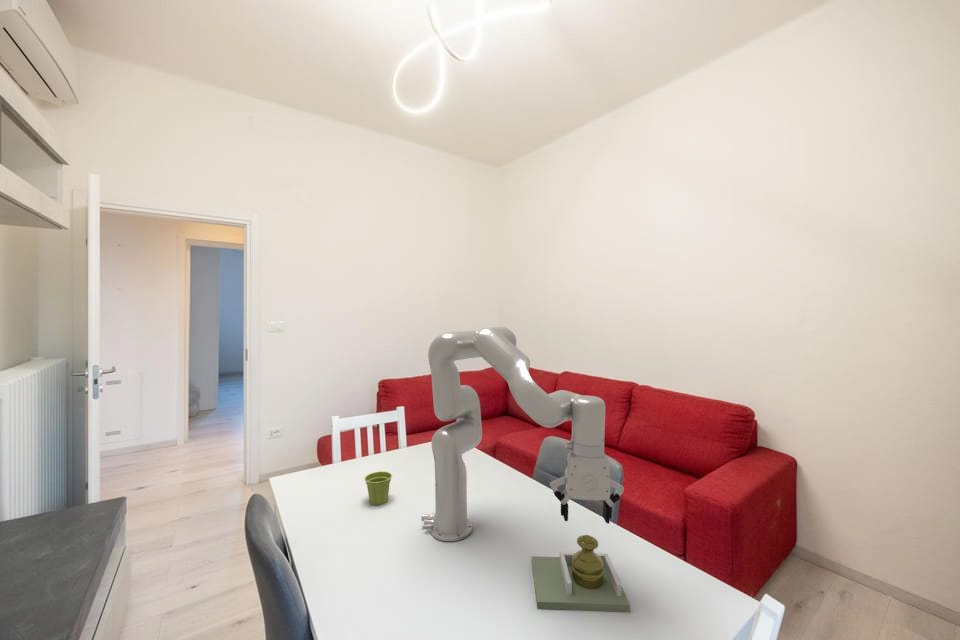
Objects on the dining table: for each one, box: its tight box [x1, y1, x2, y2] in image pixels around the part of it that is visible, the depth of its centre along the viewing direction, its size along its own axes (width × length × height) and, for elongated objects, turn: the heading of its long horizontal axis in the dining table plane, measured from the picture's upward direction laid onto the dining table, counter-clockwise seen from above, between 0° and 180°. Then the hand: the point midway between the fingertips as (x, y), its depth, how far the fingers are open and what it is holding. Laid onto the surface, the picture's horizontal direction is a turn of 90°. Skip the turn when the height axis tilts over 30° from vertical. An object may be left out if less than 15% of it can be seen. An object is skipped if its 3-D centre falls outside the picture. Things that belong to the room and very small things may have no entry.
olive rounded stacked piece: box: [572, 534, 604, 588], centre depth 91 cm, size 7×7×10 cm
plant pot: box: [364, 471, 393, 506], centre depth 134 cm, size 9×9×9 cm
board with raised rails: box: [531, 551, 631, 613], centre depth 91 cm, size 20×16×4 cm
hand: (585, 519), depth 91 cm, fingers open, 9 cm apart
